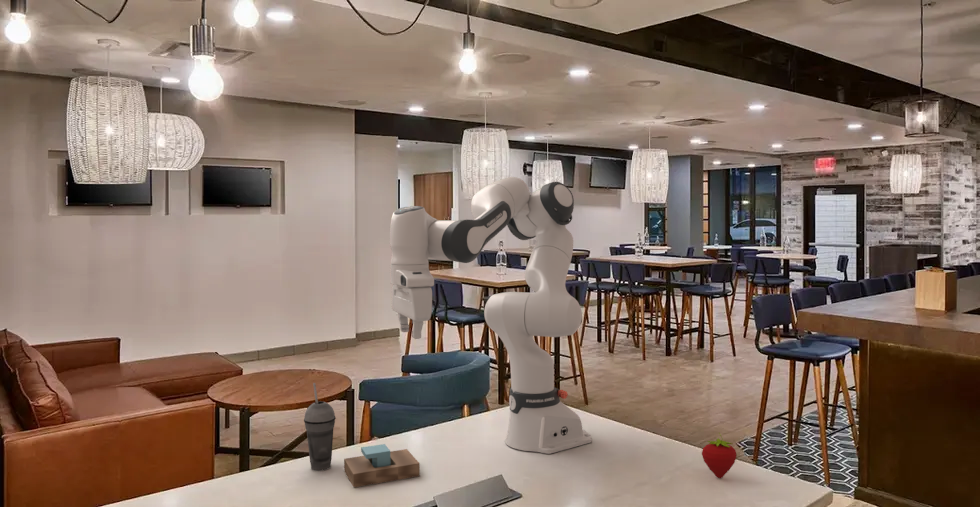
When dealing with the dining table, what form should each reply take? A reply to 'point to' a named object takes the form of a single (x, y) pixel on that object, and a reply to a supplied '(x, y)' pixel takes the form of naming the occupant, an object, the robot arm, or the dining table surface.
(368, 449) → the bracket
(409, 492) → the dining table surface
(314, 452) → the beverage cup
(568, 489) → the dining table surface
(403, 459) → the well block
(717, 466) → the strawberry
